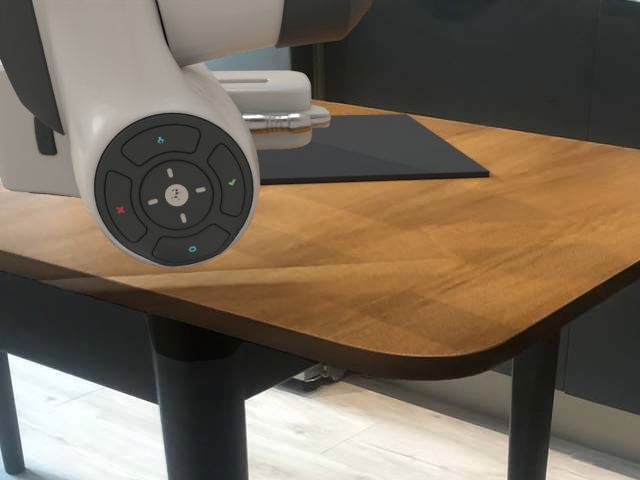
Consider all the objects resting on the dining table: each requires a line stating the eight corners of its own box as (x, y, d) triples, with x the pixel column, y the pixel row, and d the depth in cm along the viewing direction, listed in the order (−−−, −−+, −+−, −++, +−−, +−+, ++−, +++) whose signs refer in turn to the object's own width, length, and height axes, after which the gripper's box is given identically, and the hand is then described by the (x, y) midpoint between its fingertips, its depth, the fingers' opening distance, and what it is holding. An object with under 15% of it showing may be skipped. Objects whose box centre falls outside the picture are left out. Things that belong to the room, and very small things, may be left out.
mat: (107, 189, 91) (106, 183, 91) (100, 124, 116) (100, 119, 116) (489, 176, 100) (490, 171, 99) (406, 118, 124) (406, 113, 124)
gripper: (336, 65, 61) (295, 37, 73) (-48, 69, 57) (-27, 38, 68) (338, 179, 65) (298, 135, 76) (-27, 192, 60) (-10, 143, 71)
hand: (142, 89), depth 72 cm, fingers closed
